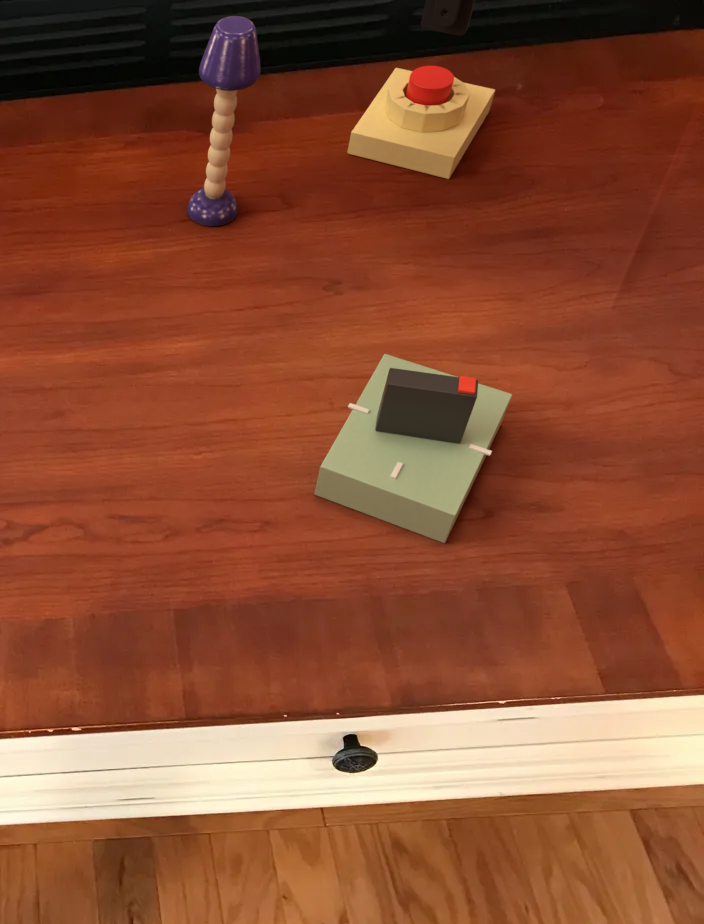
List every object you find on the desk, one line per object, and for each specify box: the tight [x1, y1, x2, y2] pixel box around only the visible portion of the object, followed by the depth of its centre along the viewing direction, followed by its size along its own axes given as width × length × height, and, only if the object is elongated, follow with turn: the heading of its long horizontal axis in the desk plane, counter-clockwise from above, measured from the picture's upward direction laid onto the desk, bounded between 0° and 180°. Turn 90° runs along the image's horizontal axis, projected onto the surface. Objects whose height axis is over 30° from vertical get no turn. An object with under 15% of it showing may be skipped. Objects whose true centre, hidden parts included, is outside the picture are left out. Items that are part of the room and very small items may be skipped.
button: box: [406, 65, 455, 106], centre depth 98 cm, size 4×4×2 cm
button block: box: [347, 67, 496, 180], centre depth 100 cm, size 11×9×4 cm
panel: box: [314, 353, 513, 544], centre depth 78 cm, size 12×10×3 cm
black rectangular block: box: [375, 368, 479, 443], centre depth 75 cm, size 6×2×5 cm, turn 72°
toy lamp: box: [186, 15, 262, 227], centre depth 91 cm, size 5×5×17 cm
